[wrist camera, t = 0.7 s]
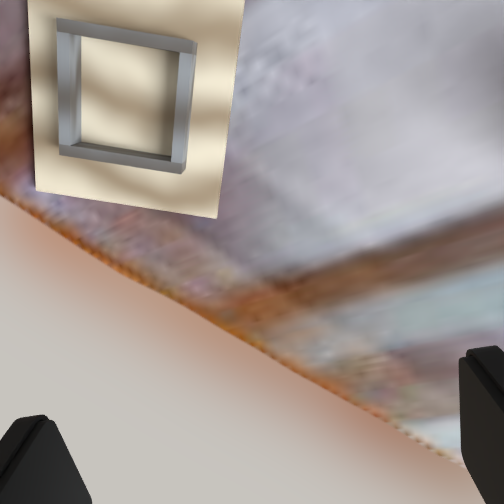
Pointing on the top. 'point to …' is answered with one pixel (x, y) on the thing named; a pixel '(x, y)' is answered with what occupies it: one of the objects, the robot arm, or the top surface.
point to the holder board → (134, 99)
